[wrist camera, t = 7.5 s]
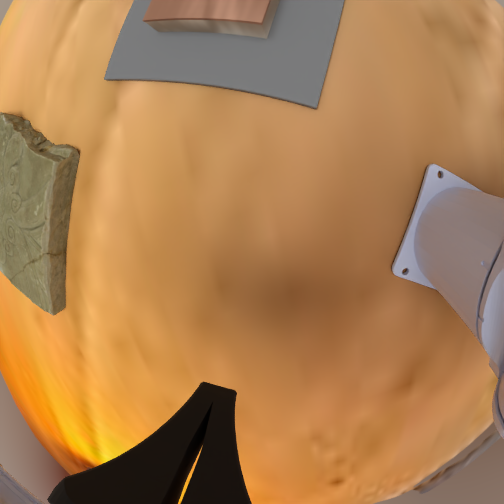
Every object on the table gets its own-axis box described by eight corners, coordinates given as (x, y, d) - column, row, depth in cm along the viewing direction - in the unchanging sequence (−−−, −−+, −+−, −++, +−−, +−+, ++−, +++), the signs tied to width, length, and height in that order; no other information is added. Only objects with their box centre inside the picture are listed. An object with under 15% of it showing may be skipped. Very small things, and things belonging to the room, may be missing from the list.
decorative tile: (68, 308, 25) (48, 323, 22) (-12, 236, 25) (-29, 243, 22) (93, 135, 18) (63, 135, 15) (2, 107, 19) (-19, 107, 15)
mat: (350, -28, 10) (351, -31, 10) (316, 109, 15) (316, 107, 14) (159, -39, 11) (157, -41, 11) (107, 80, 16) (103, 79, 16)
